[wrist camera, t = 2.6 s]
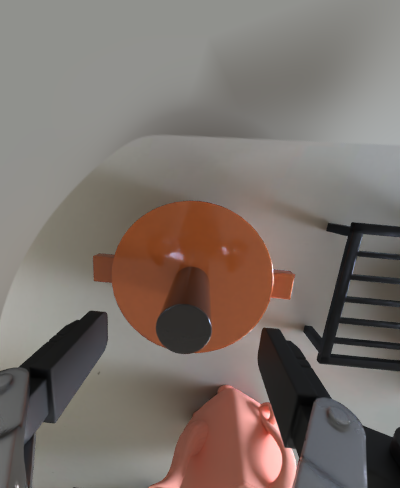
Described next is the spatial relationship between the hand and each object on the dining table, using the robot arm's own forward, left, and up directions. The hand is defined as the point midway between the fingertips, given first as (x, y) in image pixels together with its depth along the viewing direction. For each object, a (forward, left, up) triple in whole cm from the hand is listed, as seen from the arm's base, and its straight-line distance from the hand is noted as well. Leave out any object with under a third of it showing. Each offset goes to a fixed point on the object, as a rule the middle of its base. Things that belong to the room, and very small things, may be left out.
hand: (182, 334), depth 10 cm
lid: (0, 0, -7) cm, 7 cm away
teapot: (+25, +7, -16) cm, 30 cm away
